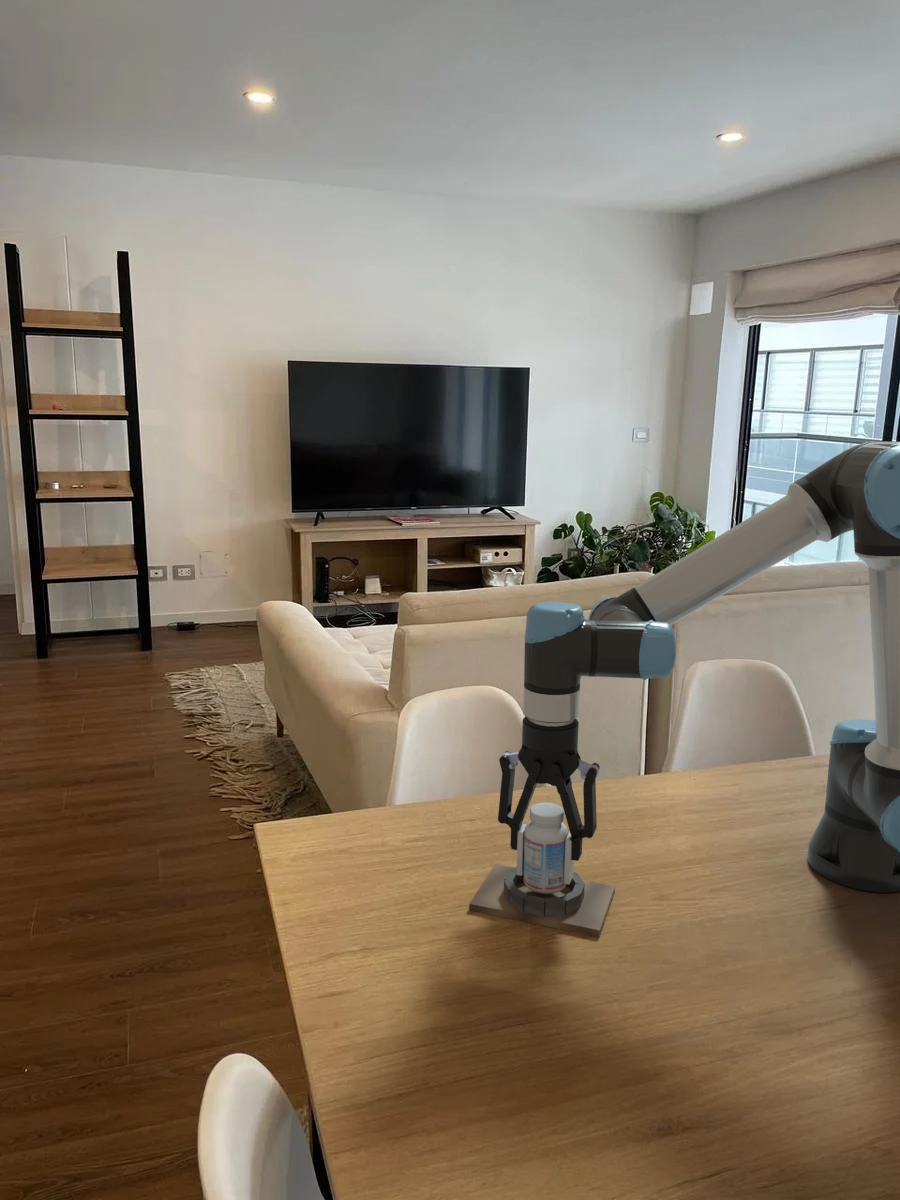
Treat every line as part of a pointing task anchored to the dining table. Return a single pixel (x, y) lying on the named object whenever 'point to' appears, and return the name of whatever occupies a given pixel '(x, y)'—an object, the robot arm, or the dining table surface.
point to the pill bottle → (545, 849)
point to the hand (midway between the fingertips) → (544, 874)
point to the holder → (544, 902)
